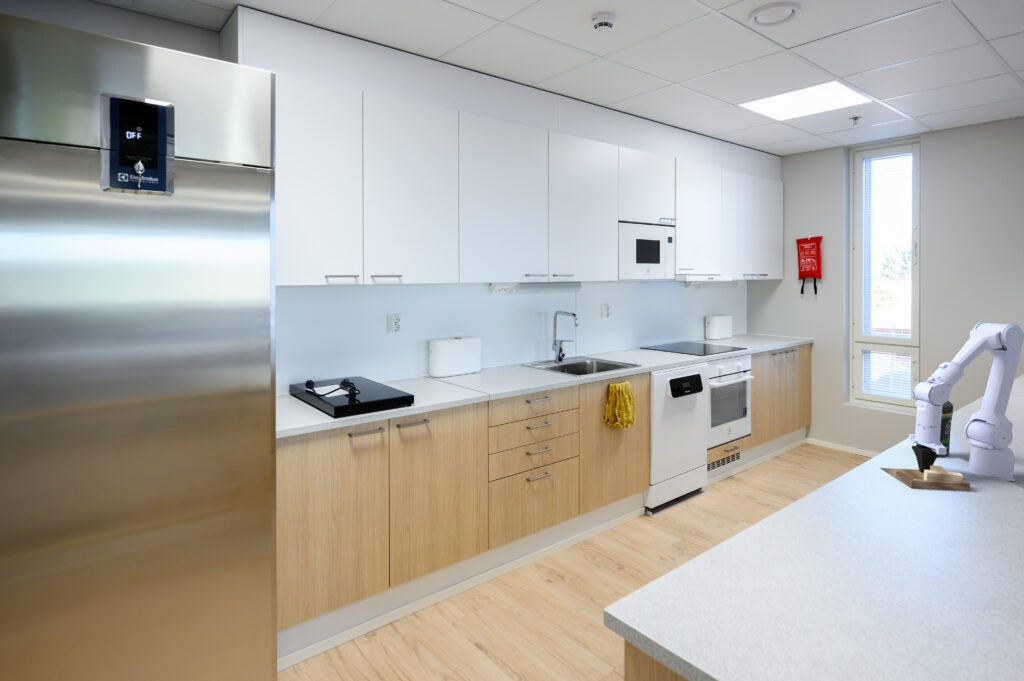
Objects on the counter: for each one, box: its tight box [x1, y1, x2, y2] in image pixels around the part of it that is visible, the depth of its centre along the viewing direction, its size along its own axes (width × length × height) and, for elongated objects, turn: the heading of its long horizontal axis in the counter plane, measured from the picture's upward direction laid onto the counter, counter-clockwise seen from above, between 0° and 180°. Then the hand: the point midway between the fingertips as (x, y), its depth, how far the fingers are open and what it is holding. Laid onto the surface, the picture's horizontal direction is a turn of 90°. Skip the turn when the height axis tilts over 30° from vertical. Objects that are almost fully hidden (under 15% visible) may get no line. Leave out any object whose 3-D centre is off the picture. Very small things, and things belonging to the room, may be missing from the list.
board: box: [879, 467, 971, 492], centre depth 159 cm, size 14×17×3 cm
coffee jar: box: [915, 400, 954, 459], centre depth 182 cm, size 10×8×19 cm
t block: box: [924, 464, 964, 482], centre depth 156 cm, size 8×8×4 cm
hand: (924, 472), depth 162 cm, fingers closed
